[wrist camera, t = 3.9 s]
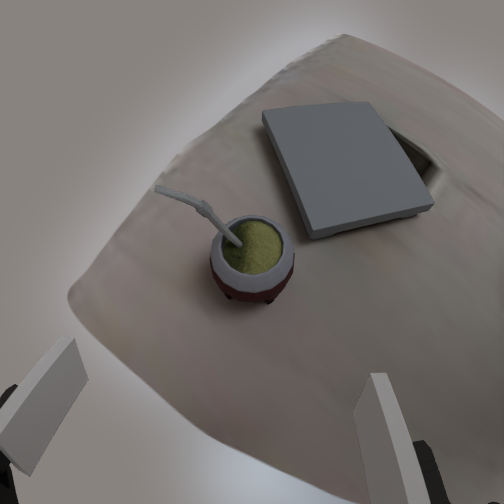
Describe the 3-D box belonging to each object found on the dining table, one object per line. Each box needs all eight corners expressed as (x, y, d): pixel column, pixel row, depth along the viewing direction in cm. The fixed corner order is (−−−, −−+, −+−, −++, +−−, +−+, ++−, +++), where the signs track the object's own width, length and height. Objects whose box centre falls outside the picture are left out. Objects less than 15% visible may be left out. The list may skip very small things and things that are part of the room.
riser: (421, 217, 33) (434, 203, 30) (307, 246, 31) (313, 230, 28) (362, 118, 40) (368, 101, 37) (261, 129, 38) (262, 110, 35)
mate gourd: (301, 285, 30) (341, 202, 16) (237, 333, 28) (223, 286, 14) (255, 231, 32) (258, 126, 18) (194, 273, 30) (150, 186, 16)
